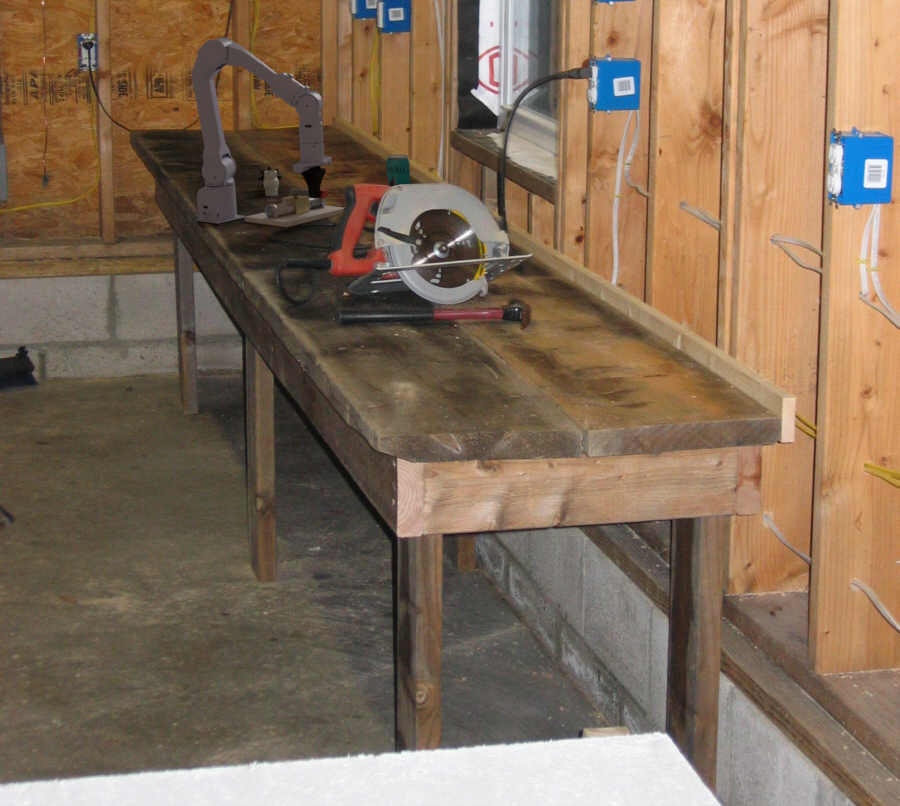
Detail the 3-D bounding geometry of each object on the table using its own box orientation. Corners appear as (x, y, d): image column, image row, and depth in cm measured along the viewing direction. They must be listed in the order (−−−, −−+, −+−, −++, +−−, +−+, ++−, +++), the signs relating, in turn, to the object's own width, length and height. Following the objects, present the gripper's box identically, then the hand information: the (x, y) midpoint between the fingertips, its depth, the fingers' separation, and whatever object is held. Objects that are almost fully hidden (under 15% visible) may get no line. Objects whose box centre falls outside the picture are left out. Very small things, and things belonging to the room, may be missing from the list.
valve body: (278, 220, 347) (277, 202, 346) (264, 218, 350) (263, 200, 349) (327, 209, 361) (326, 191, 359) (313, 207, 364) (312, 189, 362)
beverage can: (384, 216, 354) (381, 155, 350) (404, 213, 357) (402, 153, 352) (395, 219, 350) (392, 158, 345) (415, 216, 352) (413, 156, 348)
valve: (284, 196, 387) (282, 188, 398) (282, 171, 385) (280, 165, 396) (260, 197, 386) (258, 190, 397) (258, 172, 384) (257, 166, 395)
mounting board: (286, 227, 343) (286, 222, 343) (245, 221, 352) (245, 216, 351) (346, 212, 360) (346, 208, 360) (306, 207, 368) (305, 203, 368)
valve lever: (288, 196, 353) (287, 189, 353) (293, 194, 356) (293, 187, 355) (324, 198, 349) (323, 191, 349) (329, 196, 351) (328, 189, 351)
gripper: (309, 146, 338) (312, 203, 342) (341, 139, 350) (343, 194, 354) (284, 145, 341) (288, 201, 345) (317, 138, 353) (320, 192, 357)
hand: (314, 197), depth 350 cm, fingers closed, pressing on valve lever
